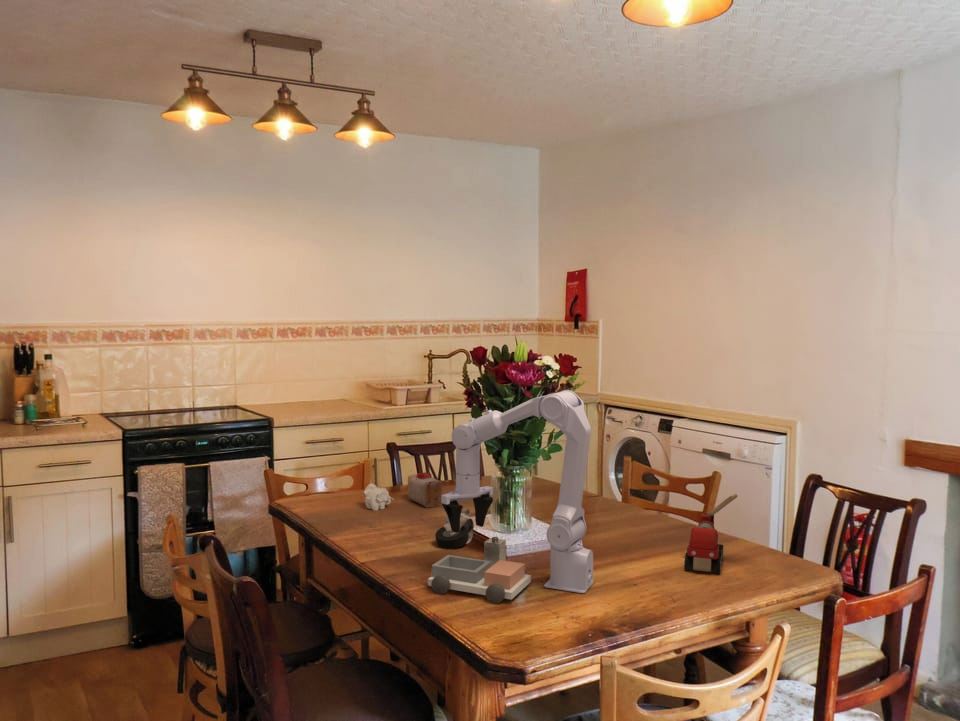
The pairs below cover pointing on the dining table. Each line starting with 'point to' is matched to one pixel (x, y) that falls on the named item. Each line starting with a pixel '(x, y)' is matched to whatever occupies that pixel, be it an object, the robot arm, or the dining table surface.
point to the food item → (425, 490)
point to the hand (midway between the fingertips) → (467, 528)
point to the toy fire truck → (706, 543)
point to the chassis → (479, 577)
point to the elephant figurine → (376, 497)
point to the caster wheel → (453, 539)
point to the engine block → (494, 550)
